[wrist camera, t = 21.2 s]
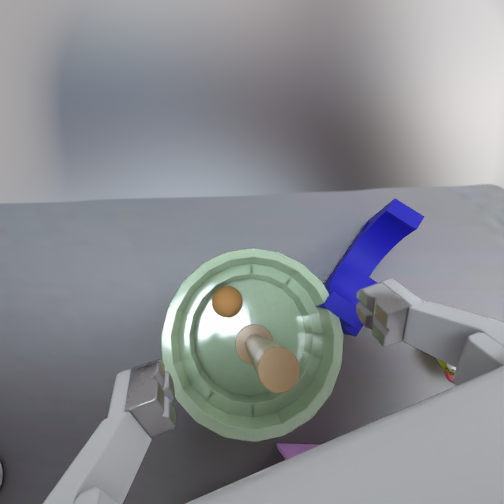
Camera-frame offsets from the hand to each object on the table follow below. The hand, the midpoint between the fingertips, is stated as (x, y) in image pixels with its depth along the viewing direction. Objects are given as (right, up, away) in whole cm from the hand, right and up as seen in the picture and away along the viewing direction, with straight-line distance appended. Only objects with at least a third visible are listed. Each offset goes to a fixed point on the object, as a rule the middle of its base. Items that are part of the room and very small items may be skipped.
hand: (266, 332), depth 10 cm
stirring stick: (0, -6, +16) cm, 17 cm away
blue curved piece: (+11, +1, +18) cm, 21 cm away
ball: (-3, -2, +15) cm, 15 cm away
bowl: (-1, -5, +16) cm, 17 cm away
